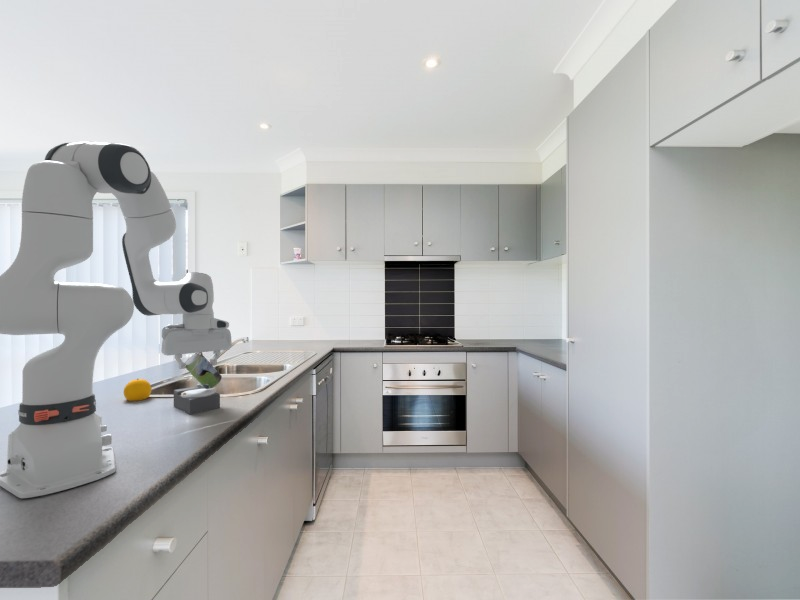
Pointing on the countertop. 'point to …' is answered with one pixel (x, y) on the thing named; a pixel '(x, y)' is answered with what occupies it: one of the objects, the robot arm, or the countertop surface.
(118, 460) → the countertop surface
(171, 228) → the robot arm
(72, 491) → the countertop surface
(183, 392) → the body block
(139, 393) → the apple
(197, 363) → the beverage can
